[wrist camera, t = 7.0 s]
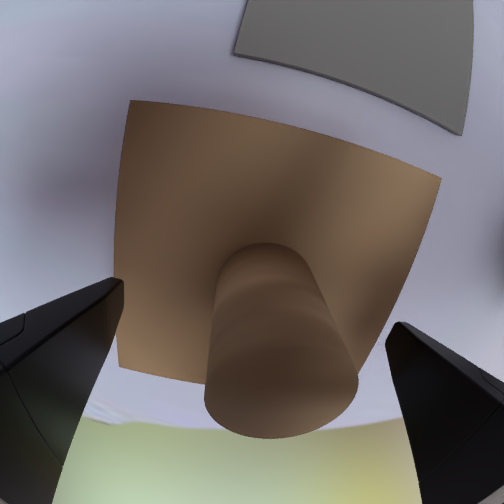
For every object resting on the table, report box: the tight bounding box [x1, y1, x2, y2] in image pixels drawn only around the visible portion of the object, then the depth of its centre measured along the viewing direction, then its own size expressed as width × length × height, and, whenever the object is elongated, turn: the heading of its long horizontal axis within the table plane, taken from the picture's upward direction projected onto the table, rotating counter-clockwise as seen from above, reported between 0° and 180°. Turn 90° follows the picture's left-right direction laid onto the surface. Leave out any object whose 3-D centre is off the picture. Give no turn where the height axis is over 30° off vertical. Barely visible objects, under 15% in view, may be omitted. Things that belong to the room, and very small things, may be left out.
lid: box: [114, 100, 442, 439], centre depth 9 cm, size 11×11×6 cm
